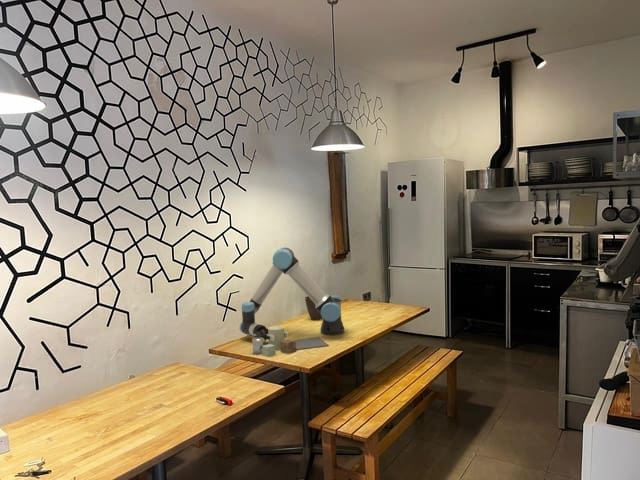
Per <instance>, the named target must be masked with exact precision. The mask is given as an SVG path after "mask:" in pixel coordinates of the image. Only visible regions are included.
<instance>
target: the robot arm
mask: <svg viewBox="0 0 640 480" xmlns="http://www.w3.org/2000/svg"><path fill="white" fill-rule="evenodd" d="M282 274H284V275H288V276H289V277H290V278H291V280H293V282H295V284H297V286H298V287H299V288H300V289H301V290H302V291H303V292H304V293H305V295H306V297H309V298H310V299H311V300H312V301H313V302H314V303H315V308H316V309H317V310H318V311H319V312H320V314H321V316H322V323H321V326H320V328H319V329H320V333H321V334H322V335H326V336H327V335H328V336H331V335H332V336H334V335H341V334H344V333H345V326H344V323H343V321H342V307H341V306H342V305H341V296H340V295H330V294H326V293H325V292H324V290H322V289H321V287H320V286H319V285H318V284H317V283H316V282H315V281H314V280H313V278H311V276H310V275H309V273H307V272H306V271H305V269H303V267H302V266H300V261H299V260H298V259H297V257H296V256H295V254H294V251H293V250H292V249H291V248H288V247H281V248H279V249H277V250H276V251H275V252H274V253H273V256H272V266H271V267H270V269H269V271H268V272H267V274H266V275H265V277H264V278H263V280H262V282H261V283H260V284H259V286H258V288H257V289H256V291H255V293H254V294H253V295H252V297H251V298H250V300H249V301H245V302H243V303H241V314H242V315H241V316H242V322H241V323H240V324H239V330H240V332H241V333H242V334H245V335H247V336H252V337H253V338H255V337H262V338H263V342H265V341H267V340H268V341H269V340H271V341H275V336H272V335H268V327H266V326H265V325H263V324H260V323H256V317H255V316H256V315H255V314H256V313H258V312H259V310H260V307H262V305H263V303H264V302H265V300H266V298H267V297H268V295H269V294H270V293H271V291H272V289H273V288H274V286H275V285H276V283H277V282H278V280H279V278H280V277H281V276H282ZM343 332H344V333H343ZM284 338H288V339H290V338H289V332H287V331H284Z"/></svg>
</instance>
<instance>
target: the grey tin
mask: <svg viewBox="0 0 640 480" xmlns="http://www.w3.org/2000/svg"><path fill="white" fill-rule="evenodd" d="M251 341H252V345H251V346H252V354H253V355H255V354H256V356H257V355H263V354H262V346H264V345H265V344H264V339H263V338H262V337H253V338H252V339H251Z"/></svg>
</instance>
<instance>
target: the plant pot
mask: <svg viewBox="0 0 640 480" xmlns="http://www.w3.org/2000/svg"><path fill="white" fill-rule="evenodd" d="M304 300H305V305H306V306H305V307H306V309H307V312H308V316H309V318H310V320H312V321H321V320H323V318H322V316H321V314H320V312H319V311H318V310H317V309H316V308H315V303H314V302H313V301H312V300H311V299H310V298H309V297H308V296H305V297H304ZM320 319H321V320H320Z"/></svg>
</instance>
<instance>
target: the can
mask: <svg viewBox="0 0 640 480" xmlns="http://www.w3.org/2000/svg"><path fill="white" fill-rule="evenodd" d="M267 329H268V335H272V336H275V341H271V340H268V344H272V345H275V351H281V341H284V340H285V337H284V332H285V327H284V326H283V325H282V326H281V325H273V326H269V327H267Z"/></svg>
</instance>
